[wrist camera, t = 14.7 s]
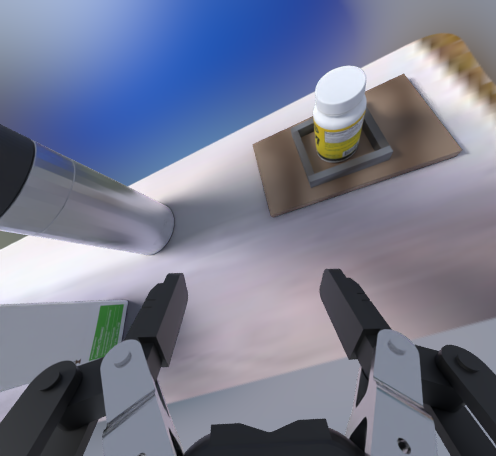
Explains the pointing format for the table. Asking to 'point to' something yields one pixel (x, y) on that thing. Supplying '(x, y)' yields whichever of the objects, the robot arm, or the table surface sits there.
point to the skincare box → (55, 336)
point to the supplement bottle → (339, 113)
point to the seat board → (365, 157)
